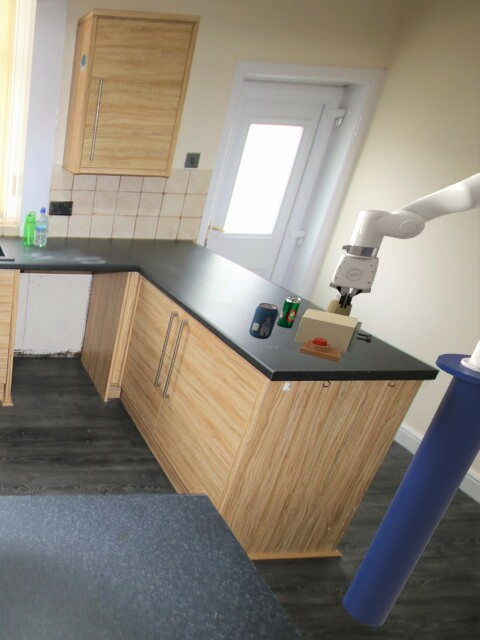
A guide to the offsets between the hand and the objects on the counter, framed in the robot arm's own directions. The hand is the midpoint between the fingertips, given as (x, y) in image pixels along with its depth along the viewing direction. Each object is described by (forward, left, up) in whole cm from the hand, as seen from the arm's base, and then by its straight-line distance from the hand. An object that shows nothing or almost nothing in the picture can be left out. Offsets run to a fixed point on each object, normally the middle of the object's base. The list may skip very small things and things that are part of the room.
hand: (343, 307), depth 154 cm
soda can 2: (+16, -18, -17) cm, 29 cm away
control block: (+2, +2, -17) cm, 17 cm away
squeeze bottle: (+2, -26, -17) cm, 31 cm away
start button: (+3, +2, -14) cm, 14 cm away
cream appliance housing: (+3, -10, -17) cm, 20 cm away
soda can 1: (+21, 0, -17) cm, 27 cm away
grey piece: (-1, -10, -16) cm, 19 cm away
